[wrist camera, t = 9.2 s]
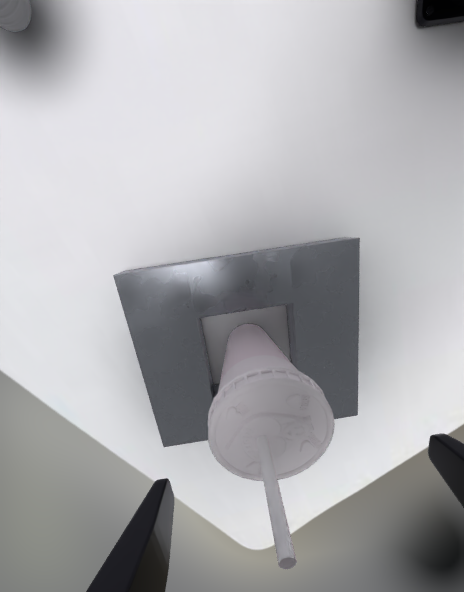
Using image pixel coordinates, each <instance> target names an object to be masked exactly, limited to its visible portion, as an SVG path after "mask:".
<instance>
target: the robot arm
mask: <svg viewBox="0 0 464 592" xmlns="http://www.w3.org/2000/svg"><path fill="white" fill-rule="evenodd" d="M426 12H427V13H428V16H427V14H426ZM460 21H464V0H418V6H417V22H418V24H419V25H420V26H423V27H424V26H431V25H438V24H446V23H453V22H460ZM428 455H429V458H430V460H431V461H432V463H433V464H434V466H435V467H436V469H437V470H438V472H439V473H440V475H441V476H442V477H443V479H444V480H445V482H446V483H447V485H448V486H449V488H450V489H451V490H452V492H453V493H454V495H455V496H456V498H457V499H458V501H459V502H460V503H461V505H462V506H463V508H464V443H462V442H460V441H458V440H456V439H454V438H452V437H450V436H448V435H446V434H435V435H431V436H430V440H429V448H428ZM173 512H174V494H173V491H172V488H171V484H170V481H169V479H167V478H166V479H160V480H157V481H156V482H155V483H154V484H153V486H152V487H151V489H150V490H149V492H148V494H147V495H146V497H145V498H144V500H143V502H142V503H141V505H140V506H139V508H138V510H137V511H136V513H135V514H134V516H133V518H132V519H131V521H130V523H129V524H128V526H127V527H126V529H125V530H124V532H123V534H122V535H121V537H120V539H119V540H118V542H117V543H116V545H115V546H114V548H113V550H112V551H111V553H110V554H109V556H108V558H107V559H106V561H105V562H104V564H103V566H102V567H101V569H100V570H99V572H98V574H97V575H96V577H95V578H94V580H93V581H92V583H91V585H90V586H89V588H88V590H87V591H86V592H165V588H166V582H167V576H168V569H169V559H170V547H171V535H172V524H173Z"/></svg>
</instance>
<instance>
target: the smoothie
mask: <svg viewBox="0 0 464 592" xmlns="http://www.w3.org/2000/svg"><path fill="white" fill-rule="evenodd" d="M333 432H334V416H333V412H332V409H331V407H330V405H329V403H328V401H327V400H326V398H325V396H324V393H323V391H322V389H321V388H320V387H319V386H318V385H317V384H316V383H315V381H314V380H313V379H311V378H310V377H308V376H306V375H305V374H303V373H302V372H300V371H298V370H297V369H296V367H295V366H294V365H293V364H292V363H291V362H290V361H289V359H288V358H287V357H286V356H285V355H284V354H283V352H282V351H281V350H280V349H279V348H278V346H277V345H276V344H275V343H274V342H273V341H272V339H271V338H270V337H269V336H268V335H267V333H266V332H265V331H264V330H263V329H262V328H261V327H259V326H257V325H254V324H243V325H240V326H238V327H236V328H235V329H234V330H233V331H232V332H231V333H230V335H229V337H228V342H227V347H226V353H225V358H224V363H223V369H222V374H221V380H220V385H219V389H218V394H217V395H216V396H215V397H214V399H213V402H212V404H211V407H210V409H209V414H208V440H209V445H210V448H211V451H212V453H213V455H214V457H215V458H216V460H217V461H218V462H219V463H220V464H221V465H222V466H223V467H224V468H226V469H227V470H228V471H230V472H232V473H233V474H236V475H238V476H240V477H242V478H246V479H250V480H257V481H264V486H265V492H266V497H267V503H268V508H269V514H270V520H271V525H272V531H273V536H274V542H275V547H276V553H277V558H278V564H279V566H280V568H283V569H290V568H292V567H294V566H295V565H296V563H297V561H296V557H295V553H294V548H293V544H292V540H291V536H290V532H289V527H288V523H287V519H286V515H285V511H284V506H283V502H282V498H281V494H280V489H279V485H278V481H277V480H280V479H284V478H288V477H291V476H293V475H296V474H298V473H300V472H302V471H304V470H306V469H307V468H309V467H310V466H311V465H313V464H314V463H315V462H316V461H317V460H318V459H319V458H320V457H321V456H322V455H323V454H324V452H325V451H326V449H327V447H328V446H329V444H330V441H331V439H332V436H333Z"/></svg>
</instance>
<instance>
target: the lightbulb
mask: <svg viewBox="0 0 464 592" xmlns="http://www.w3.org/2000/svg"><path fill="white" fill-rule="evenodd" d="M30 20H31V4H30V0H0V27H2V28H3V29H5V30H8V31H12V32H18V31H22V30H24V29H25V28H26V27H27V26H28V25H29V23H30Z"/></svg>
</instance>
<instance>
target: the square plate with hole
mask: <svg viewBox="0 0 464 592" xmlns="http://www.w3.org/2000/svg"><path fill="white" fill-rule="evenodd" d="M359 242H360V238H338V239H331V240H325V241H318V242H312V243H305V244H299V245H292V246H285V247H279V248H272V249H266V250H259V251H252V252H246V253H239V254H233V255H226V256H220V257H213V258H206V259H200V260H193V261H187V262H180V263H173V264H167V265H160V266H154V267H147V268H141V269H134V270H127V271H123V272H121V273H118V274H115V275H113V276H114V279H115V283H116V286H117V290H118V293H119V296H120V300H121V303H122V307H123V310H124V313H125V317H126V320H127V324H128V327H129V330H130V334H131V337H132V341H133V344H134V347H135V351H136V354H137V358H138V361H139V365H140V368H141V371H142V375H143V378H144V382H145V385H146V388H147V392H148V395H149V399H150V402H151V405H152V409H153V412H154V416H155V419H156V422H157V426H158V429H159V433H160V436H161V439H162V443H163V446H164V447H168V446H174V445H180V444H186V443H192V442H198V441H204V440H208V414H209V409H210V407H211V404H212V402H213V399H214V397H215V396H216V395H217V394H218V389H219V385H220V384H215V385H213V381H212V376H211V371H210V366H209V361H208V356H207V351H206V346H205V340H204V335H203V330H202V325H201V320H200V318H202V317H208V316H214V315H221V314H227V313H234V312H240V311H246V310H253V309H259V308H266V307H272V306H279V305H285V304H287V317H288V329H289V341H290V353H291V363H292V364H293V365H294V366H295V367H296V369H297V370H298V371H300V372H302V373H303V374H305V375H306V376H308V377H310V378H311V379H313V380H314V381H315V383H316V384H317V385H318V386H319V387H320V388H321V389H322V391H323V393H324V396H325V398H326V400H327V401H328V403H329V405H330V407H331V409H332V412H333V416H334V419H338V418H344V417H350V416H356V415H358V331H359Z"/></svg>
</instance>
